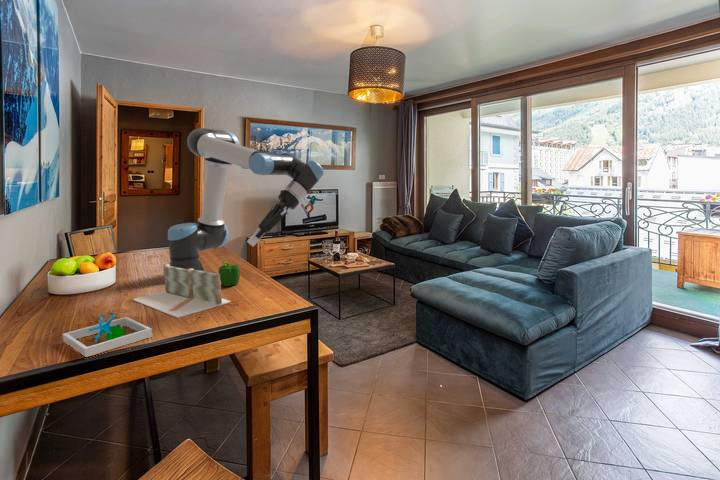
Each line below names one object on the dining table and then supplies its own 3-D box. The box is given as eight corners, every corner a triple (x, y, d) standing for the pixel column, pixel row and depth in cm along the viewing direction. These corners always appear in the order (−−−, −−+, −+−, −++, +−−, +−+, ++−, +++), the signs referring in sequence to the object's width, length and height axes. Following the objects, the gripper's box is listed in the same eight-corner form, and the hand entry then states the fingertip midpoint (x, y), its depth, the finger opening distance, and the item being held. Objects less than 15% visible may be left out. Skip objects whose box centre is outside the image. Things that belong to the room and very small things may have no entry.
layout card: (132, 300, 138) (132, 298, 138) (183, 287, 153) (183, 286, 153) (177, 318, 119) (177, 316, 119) (230, 302, 134) (230, 300, 134)
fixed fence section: (197, 297, 139) (194, 268, 137) (191, 298, 137) (189, 270, 136) (169, 290, 148) (167, 263, 146) (164, 292, 146) (161, 264, 144)
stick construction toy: (80, 333, 102) (99, 307, 105) (101, 338, 109) (119, 313, 111) (109, 353, 98) (129, 325, 101) (129, 357, 104) (147, 331, 107)
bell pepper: (236, 281, 163) (235, 257, 161) (243, 285, 156) (242, 261, 154) (216, 284, 158) (214, 260, 156) (222, 288, 151) (220, 263, 150)
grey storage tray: (63, 342, 102) (62, 333, 101) (127, 324, 114) (126, 316, 114) (86, 358, 92) (84, 348, 92) (152, 337, 105) (151, 328, 104)
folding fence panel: (192, 297, 137) (190, 270, 136) (197, 296, 139) (195, 269, 137) (218, 304, 130) (216, 275, 128) (223, 302, 131) (221, 274, 130)
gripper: (305, 203, 140) (262, 253, 134) (293, 201, 151) (253, 248, 146) (290, 188, 137) (246, 239, 131) (279, 188, 148) (238, 235, 142)
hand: (250, 244), depth 138 cm, fingers closed
